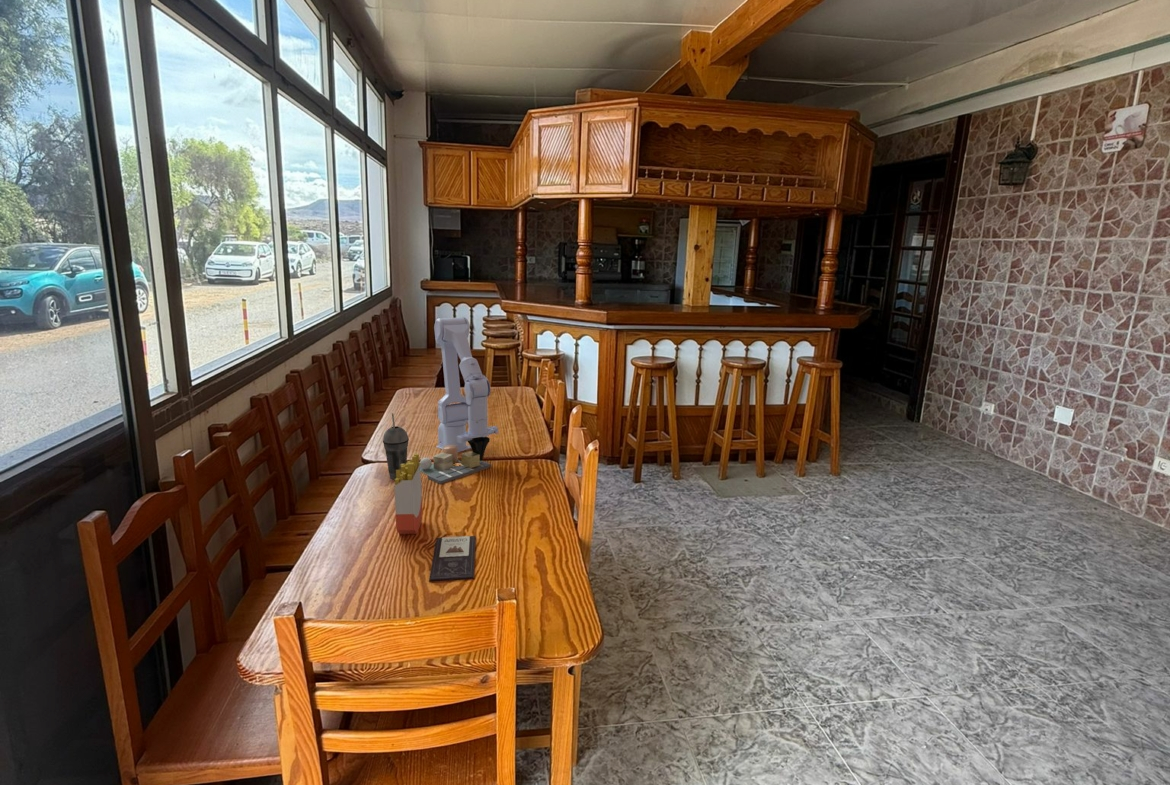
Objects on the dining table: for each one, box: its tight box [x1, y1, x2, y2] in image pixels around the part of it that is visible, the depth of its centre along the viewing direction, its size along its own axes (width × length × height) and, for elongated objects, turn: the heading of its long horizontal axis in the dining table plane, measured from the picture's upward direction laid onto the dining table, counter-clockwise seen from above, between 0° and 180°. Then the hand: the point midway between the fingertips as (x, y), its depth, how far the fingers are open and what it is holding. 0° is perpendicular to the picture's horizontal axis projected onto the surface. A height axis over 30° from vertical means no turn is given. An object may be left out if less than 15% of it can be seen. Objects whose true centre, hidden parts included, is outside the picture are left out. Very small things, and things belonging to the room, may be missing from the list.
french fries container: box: [394, 453, 423, 535], centre depth 144 cm, size 5×11×18 cm, turn 5°
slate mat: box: [420, 459, 461, 476], centre depth 185 cm, size 8×14×1 cm, turn 139°
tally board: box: [427, 460, 492, 485], centre depth 181 cm, size 6×19×1 cm, turn 139°
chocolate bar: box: [428, 535, 476, 583], centre depth 133 cm, size 9×1×18 cm
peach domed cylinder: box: [442, 445, 459, 464], centre depth 188 cm, size 4×4×5 cm
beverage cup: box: [382, 412, 410, 481], centre depth 174 cm, size 7×7×20 cm
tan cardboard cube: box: [460, 450, 480, 468], centre depth 183 cm, size 4×4×4 cm
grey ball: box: [419, 457, 433, 470], centre depth 182 cm, size 4×4×4 cm
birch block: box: [433, 452, 453, 471], centre depth 184 cm, size 4×4×4 cm
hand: (478, 460), depth 185 cm, fingers closed
